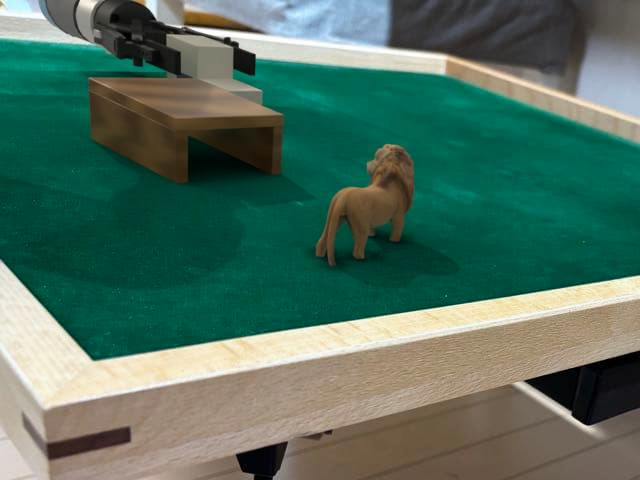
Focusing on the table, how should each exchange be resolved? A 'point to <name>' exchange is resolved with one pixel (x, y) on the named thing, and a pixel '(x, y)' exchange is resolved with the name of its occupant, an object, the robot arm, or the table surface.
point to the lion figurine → (372, 202)
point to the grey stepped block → (210, 64)
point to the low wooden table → (181, 123)
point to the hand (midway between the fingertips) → (217, 64)
